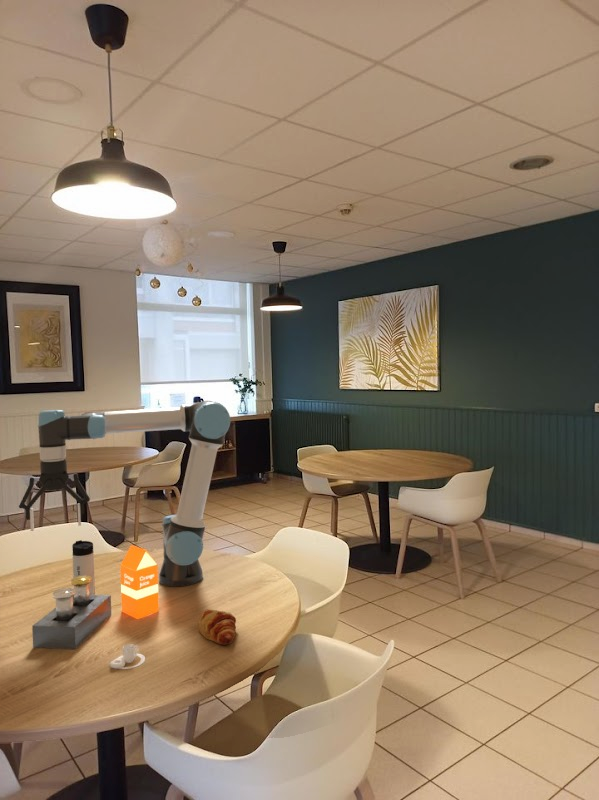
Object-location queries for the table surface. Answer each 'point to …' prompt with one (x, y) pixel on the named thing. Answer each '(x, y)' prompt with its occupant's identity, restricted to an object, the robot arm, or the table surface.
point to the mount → (71, 625)
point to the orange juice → (139, 583)
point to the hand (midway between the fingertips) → (56, 527)
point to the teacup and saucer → (127, 657)
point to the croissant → (218, 626)
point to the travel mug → (84, 561)
